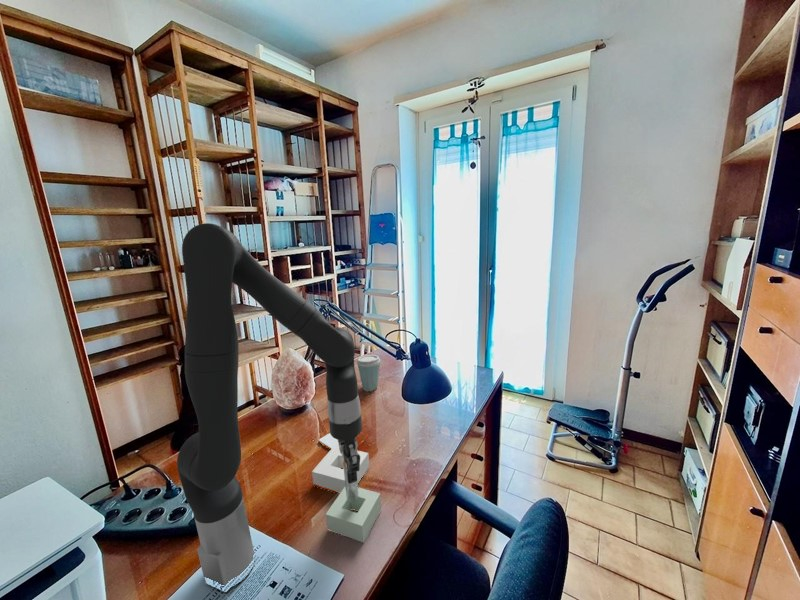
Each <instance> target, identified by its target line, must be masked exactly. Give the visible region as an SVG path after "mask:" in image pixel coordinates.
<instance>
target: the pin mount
mask: <svg viewBox="0 0 800 600" xmlns="http://www.w3.org/2000/svg"><path fill="white" fill-rule="evenodd" d="M358 493H359V498H358V500H357V501H355V502H348V501H347V497H346V487H344V489H343V490H342V492H341V493H340V494H339V493H338V496H337V497H336V499H335V500H334V502H333V503H332V504H331V506H330V507H329V509H328V510H327V512H326V513H325V518H326V528H327V530H328V529H330V530H332V531H335V532H337V533H339V534H342V535H345V536H348V537H351V538H353V539H356V540H358V541H357V542H359V541H361V542H360V543H362V542H364V541H365V542H366V540H367V538H368V536H369V534H370V532H371V531H372V529H373V527H374V525H373V524H375V523H376V521H377V519H378V517H379V515H380V513H381V511H382V510H381V508H382V498H381V493H380V492H376V491H373V490H369V489H366V488H362V487H359V486H358ZM351 509H355V510H358V512H356V511H353V510H352V511H351ZM380 510H381V511H380ZM379 512H380V513H379ZM378 514H379V515H378ZM377 516H378V517H377ZM376 518H377V519H376ZM375 520H376V521H375ZM374 522H375V523H374ZM372 526H373V527H372ZM371 528H372V529H371ZM370 530H371V531H370ZM369 531H370V532H369ZM368 533H369V534H368ZM339 534H338V535H339ZM342 535H341V536H342ZM367 535H368V536H367ZM366 537H367V538H366ZM353 539H352V540H353ZM365 539H366V540H365ZM356 540H355V541H356ZM365 542H364V543H365Z"/></svg>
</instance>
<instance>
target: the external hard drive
mask: <svg viewBox="0 0 800 600" xmlns="http://www.w3.org/2000/svg"><path fill="white" fill-rule="evenodd" d="M318 441H320V442H321V443H323V444H325V445H326V446H328V447H329V448H331V449H332V448H333V447H334V445H336V446H339V443H338V439H335V438H333V437H332V436H331V434H330V432H329V433H327V434H325V435H324V436H323V437H321V438H319V439H317V442H318Z"/></svg>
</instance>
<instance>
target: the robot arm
mask: <svg viewBox="0 0 800 600" xmlns="http://www.w3.org/2000/svg"><path fill="white" fill-rule="evenodd" d="M181 255H182V264H183V271H184V278H185V284H186V285H185V286H186V287H185V288H186V299H187V300H186V314H185V315H186V317H185V332H184V333H185V336H184V337H185V339H184V340H185V341H184V375H185V376H184V377H185V382H186V386H187V390H188V393H189V397H190V400H191V402H192V406H193V408H194V411H195V414H196V419H197V425H198V432H195V433H193V434H192V435H191V436H190V437H188V438H187V439H186V440H185V442H184V443H183V444H181V445H182V446H181V447H180V449H179V451H178V454H177V461H176V465H177V466H176V467H177V471H178V472H177V473H178V475H179V479H180V483H181V486H182V490H183V492H184V497H185V500H186V503H188V506H189V507H190V509H191V511H192V514H193V518H194V521H195V522H194V523H195V526H196V530H197V534H198V539H199V543H200V545H199V546H198V547H197V548H196V550H197V554H198V555H197V556H198V559H199V563H200V567H201V571H202V575H203V578H204V577H206V578H209V579H211V580H213V581H216V582H218V583H219V584H221V585H226V584H227V583H228V581H230V580H231V579H233V578H235V577H237V576H238V575H240V574H241V573H242V572H243V571H244V570H245V569H246V568H247V567H248V566H249V564H250V563H251V561H252V559H253V555H254V554H255V549H254V544H253V540H252V535H251V530H250V526H249V520H248V515H247V511H246V505H245V499H244V494H243V490H242V489H243V488H242V486H241V483H240V482H239V480H238V478H237V477H236V475H237V473H238V471H239V468H240V466H241V461H242V446H241V435H240V427H239V417H238V415H239V414H238V412H239V410H238V406H239V405H238V403H239V402H238V401H239V400H238V399H239V394H238V393H239V391H238V390H239V388H238V386H239V384H238V383H239V381H238V378H239V377H238V375H239V351H240V350H239V345H240V344H239V335H238V334H239V333H238V328H237V324H236V319H235V315H234V309H233V303H232V302H233V301H232V292H233V291H232V290H233V284H234V285H236V286H237V287H239V288H240V289H241V290H243V291H244V292H245V293H247V294H248V295H249V296H250V297H251V298H252V299H253V300H255V301H256V303H258V304H259V305H260V306H261V307H262V308H263V309H264V310H265V311H266V312H267V313H268V314H269V315H270V316H271V317H272V318H274V319H275V320H276V321H277V322H278V323H279V324H281V325H282V326H283V327H285V328H286V329H287V330H289V331H290V332H291V333H293V334H294V335H295V336H297V337H298V338H300V339H301V340H302V342H304V343H305V345H307V346H308V348H309V349H310V350H311V351H312V352H313V353H314V354H315V355H316V356H317V357H318V358H319V359H321V360H322V362H324V363H325V370H326V373H325V374H326V376H325V387H326V388H325V389H326V396H327V405H326V406H327V407H326V409H327V415H328V416H327V417H328V425H329V433H330V434H331V436H332V437H333V438H335V439H338V443H339V450H340V453H341V454H342V456H341V457H342V459H343V461H344V462H345V463H346V470H347V479H348V483H349V484H350V483H353V482H356V481H357V471H359V467H360V455H359V454H358V452H357V450H358V447H359V446H358V440H357V438H356V437H358V435H360V434H361V432H362V430H363V420H362V409H361V401H360V396H359V388H358V386H359V385H358V377H357V374H356V373H357V372H356V369H355V355H356V354H355V353H356V347H355V343H354V338H353V336H352V334H351V332H350V331H348V330H347V329H345V328H344V327H334V326H333V325H332V324H330V323H329V322H328V321H327V320H326V317H325V316H324V314H323V313H322V312H321V311H320V310H319V309H318V308H316V307H315V306H314V305H313V304H312V303H310V302H309V301H308V300H307V299H306V298H304V297H303V296H302V295H300V293H298V292H296V291H295V290H293V289H292V288H291V287H289V286H288V285H286V284H285V283H284V282H283V281H281V280H280V279H278V278H277V277H276V276H274V275H273V274H272V273H271V272H270V271H268V270H267V269H266V268H265V267H264V266H263V265H262V264H260V263H259V261H258V260H257V259H256V258H254V257H253V256H252V255H251V253H250V252H249V251H248V250H247V249H246V247H244V246H243V244H242V243H241V242H240V241H239V239H238V237H237V236H236V235H235V234H234V233H233V232H232V231H230V230H228V229H227V228H225V227H223V226H222V225H218V224H215V223H207V222H204V223H200V224H197V225H194V226H193V227H192V228H191V229H190V230H188V231H187V233H186V234H185V236H184V238H183V241H182V243H181ZM346 456H347V457H346Z"/></svg>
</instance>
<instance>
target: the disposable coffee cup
mask: <svg viewBox="0 0 800 600" xmlns="http://www.w3.org/2000/svg"><path fill="white" fill-rule="evenodd" d="M356 365H357V368H358V373H359V377H360V382H361V385H362V386H361V387H362V389H363V390H364V391H365V392H368V391H370V392H374V391H376V390H377V389H378V387H379V378H380V377H379V376H380V366H381V359H380V357H379V355H376V354H365V355H363V356H360V357H358V358H357V360H356ZM376 388H377V389H376ZM375 389H376V390H375ZM373 390H374V391H373Z"/></svg>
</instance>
